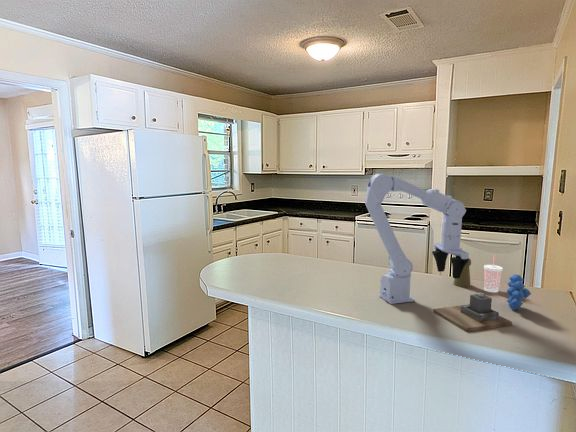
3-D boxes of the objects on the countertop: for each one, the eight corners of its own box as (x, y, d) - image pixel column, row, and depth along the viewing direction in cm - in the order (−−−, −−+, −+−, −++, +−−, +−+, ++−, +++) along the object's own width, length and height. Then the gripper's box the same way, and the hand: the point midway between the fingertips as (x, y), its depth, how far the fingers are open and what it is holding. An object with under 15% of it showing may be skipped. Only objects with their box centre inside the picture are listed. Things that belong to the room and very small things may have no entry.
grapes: (534, 319, 107) (538, 280, 106) (508, 315, 110) (511, 278, 108) (525, 305, 118) (528, 270, 116) (501, 302, 121) (504, 267, 119)
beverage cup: (494, 287, 135) (497, 251, 133) (504, 293, 129) (508, 255, 127) (478, 287, 135) (481, 251, 133) (488, 293, 129) (491, 255, 127)
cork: (472, 288, 134) (474, 259, 133) (455, 286, 136) (457, 258, 134) (468, 282, 140) (470, 255, 139) (451, 281, 142) (453, 254, 140)
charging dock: (466, 331, 99) (467, 321, 99) (433, 312, 112) (433, 303, 112) (511, 324, 103) (512, 315, 103) (474, 306, 117) (475, 297, 116)
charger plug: (479, 319, 105) (481, 296, 104) (468, 313, 109) (470, 291, 108) (490, 317, 106) (492, 295, 105) (479, 312, 110) (481, 290, 109)
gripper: (477, 239, 113) (474, 280, 115) (446, 230, 127) (444, 267, 129) (459, 240, 111) (455, 281, 113) (429, 231, 125) (427, 269, 127)
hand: (448, 274), depth 121 cm, fingers open, 7 cm apart
